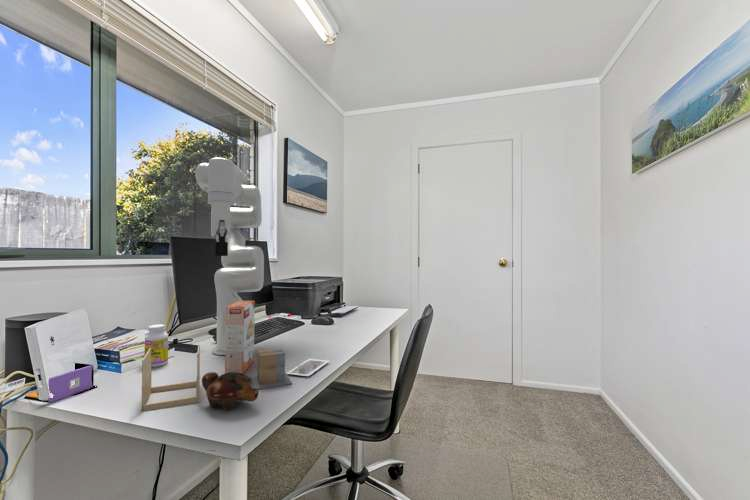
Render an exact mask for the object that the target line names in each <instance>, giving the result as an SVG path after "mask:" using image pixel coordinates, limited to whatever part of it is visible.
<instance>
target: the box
mask: <svg viewBox="0 0 750 500" xmlns="http://www.w3.org/2000/svg"><path fill="white" fill-rule="evenodd" d="M256 355H257V357H256V360H257V362H256V365H257V366H256V367H257V368H256V370H257V372H256V373H257V375H256V376H257V379H258V382H259V385H260V384H266V383H273V382H279V381H285V372H286V352H285V351H284V349H283V348H282V347H281V348H273V349H266V350H264V349H263V350H257V353H256Z"/></svg>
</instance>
